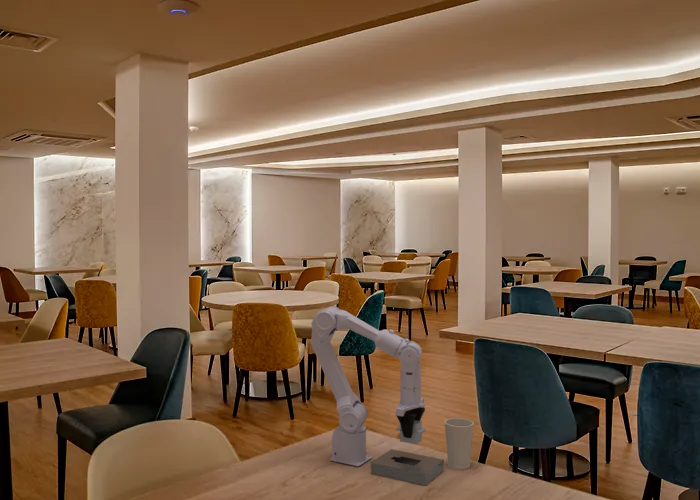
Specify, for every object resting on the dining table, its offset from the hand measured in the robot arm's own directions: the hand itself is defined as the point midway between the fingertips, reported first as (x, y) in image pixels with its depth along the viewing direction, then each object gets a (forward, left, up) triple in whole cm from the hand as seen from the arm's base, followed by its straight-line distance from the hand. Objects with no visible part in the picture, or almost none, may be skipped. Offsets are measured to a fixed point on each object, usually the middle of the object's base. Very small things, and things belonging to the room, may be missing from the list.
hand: (410, 435), depth 174 cm
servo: (0, 0, -2) cm, 2 cm away
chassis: (+1, -5, -8) cm, 10 cm away
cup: (+11, +7, -9) cm, 16 cm away
